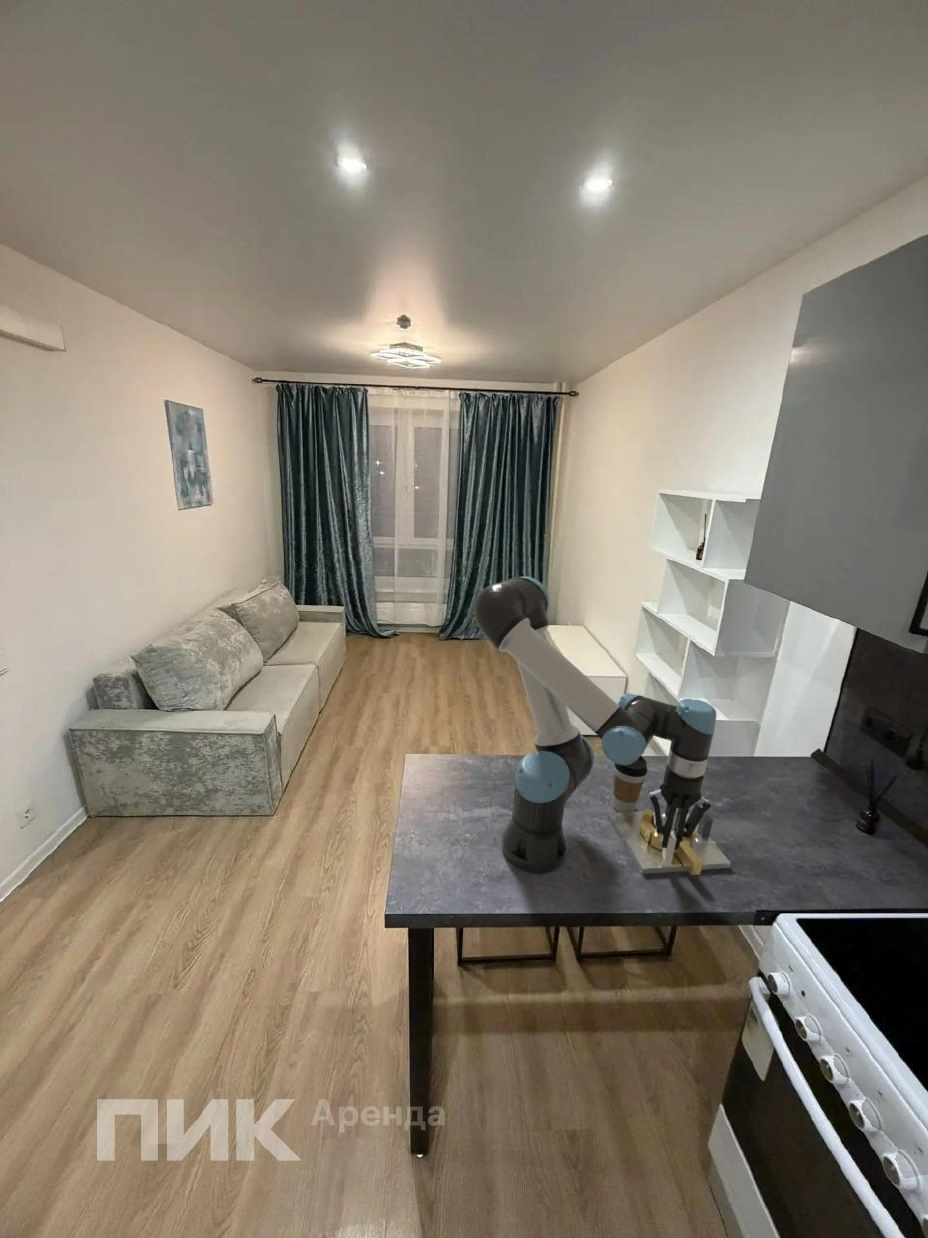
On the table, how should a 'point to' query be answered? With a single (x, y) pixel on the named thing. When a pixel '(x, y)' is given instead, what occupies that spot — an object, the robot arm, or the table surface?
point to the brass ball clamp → (683, 852)
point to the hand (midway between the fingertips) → (666, 858)
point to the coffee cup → (628, 784)
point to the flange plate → (652, 857)
